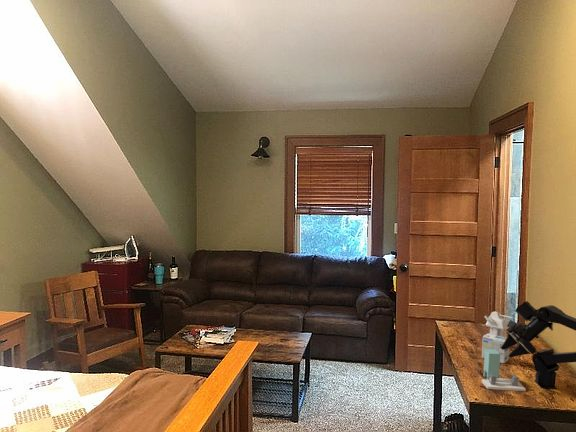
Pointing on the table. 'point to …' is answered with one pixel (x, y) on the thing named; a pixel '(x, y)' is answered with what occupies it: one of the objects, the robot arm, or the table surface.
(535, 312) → the robot arm
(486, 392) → the table surface
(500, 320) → the white mech figurine
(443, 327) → the table surface
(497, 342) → the light bulb box
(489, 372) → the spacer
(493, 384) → the shaft bracket
